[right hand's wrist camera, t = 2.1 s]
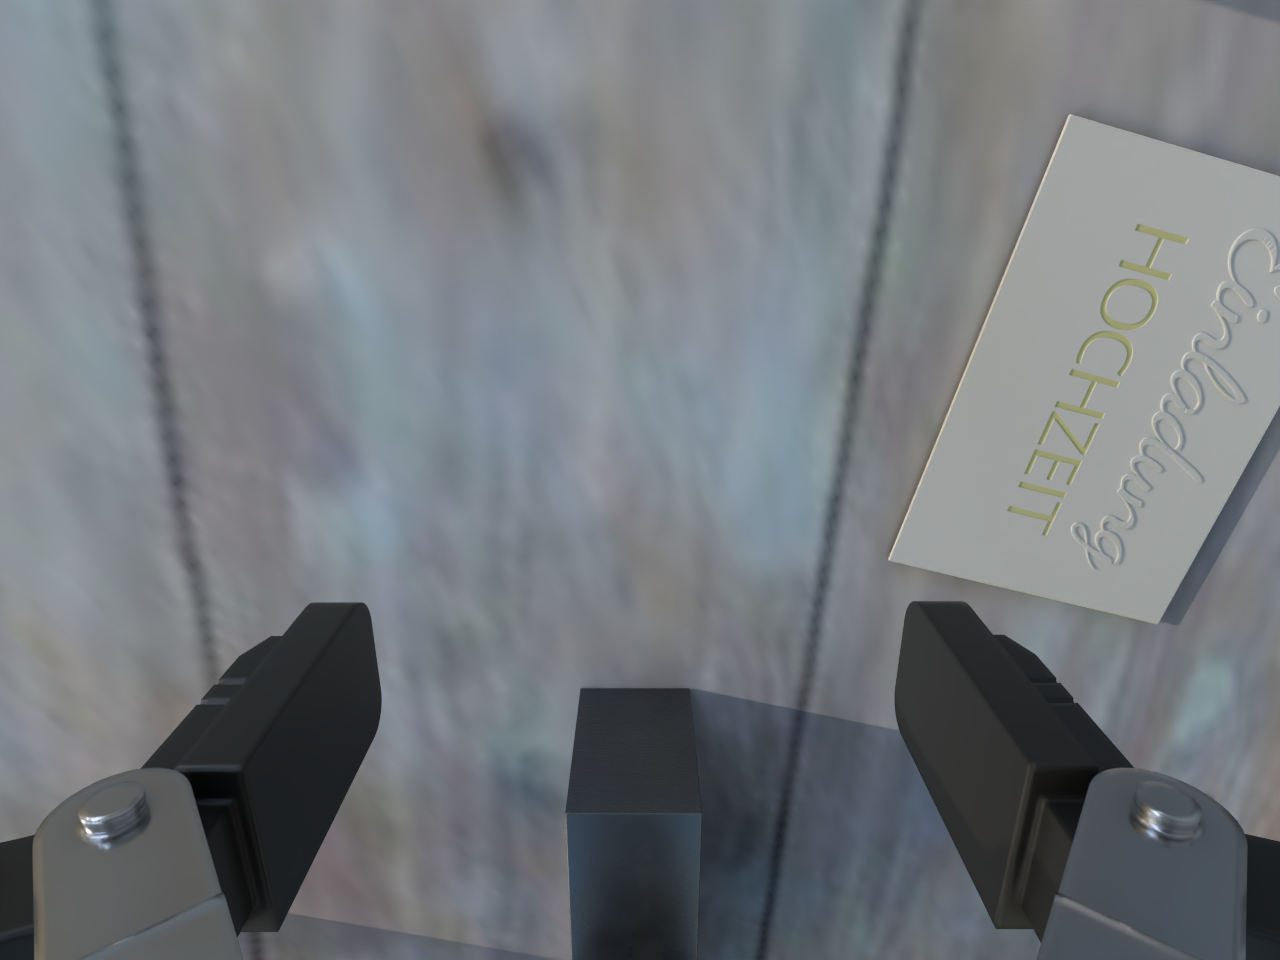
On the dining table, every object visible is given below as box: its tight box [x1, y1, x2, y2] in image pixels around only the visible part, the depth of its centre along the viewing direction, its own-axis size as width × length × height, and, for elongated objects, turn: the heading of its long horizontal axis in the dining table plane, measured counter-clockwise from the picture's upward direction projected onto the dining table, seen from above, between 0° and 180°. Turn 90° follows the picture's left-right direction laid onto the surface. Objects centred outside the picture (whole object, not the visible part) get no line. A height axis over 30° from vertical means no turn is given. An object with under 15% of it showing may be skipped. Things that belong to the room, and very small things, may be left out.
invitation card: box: [889, 114, 1280, 624], centre depth 36 cm, size 21×1×15 cm
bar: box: [565, 689, 702, 960], centre depth 42 cm, size 24×6×9 cm, turn 0°
